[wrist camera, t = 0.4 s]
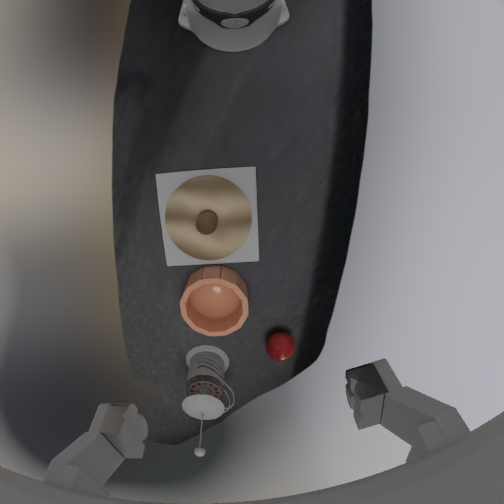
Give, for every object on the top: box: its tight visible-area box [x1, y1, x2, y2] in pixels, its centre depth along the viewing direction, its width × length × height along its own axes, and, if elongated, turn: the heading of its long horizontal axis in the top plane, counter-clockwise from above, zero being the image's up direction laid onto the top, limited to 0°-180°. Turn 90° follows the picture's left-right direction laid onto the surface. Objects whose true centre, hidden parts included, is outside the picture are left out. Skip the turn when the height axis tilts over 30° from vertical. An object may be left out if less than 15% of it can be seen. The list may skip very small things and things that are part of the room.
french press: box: [182, 345, 235, 456], centre depth 53 cm, size 10×12×25 cm
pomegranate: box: [266, 332, 295, 361], centre depth 59 cm, size 6×6×8 cm
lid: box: [165, 176, 252, 260], centre depth 51 cm, size 15×15×4 cm
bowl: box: [180, 265, 248, 336], centre depth 56 cm, size 12×12×6 cm
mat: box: [156, 166, 259, 266], centre depth 52 cm, size 17×17×1 cm
